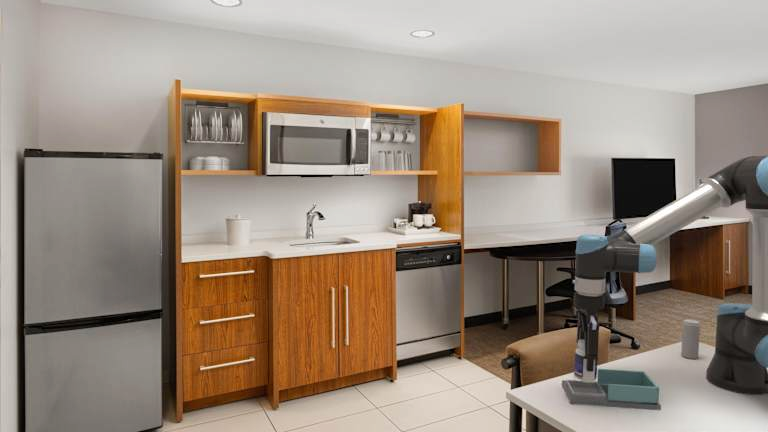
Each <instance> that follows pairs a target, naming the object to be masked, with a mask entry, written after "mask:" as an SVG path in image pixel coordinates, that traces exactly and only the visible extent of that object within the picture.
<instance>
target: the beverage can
mask: <svg viewBox="0 0 768 432" xmlns="http://www.w3.org/2000/svg"><path fill="white" fill-rule="evenodd" d="M700 323H701V322H700V321H698V320H696V319H690V318H689V319H687V318H686V319H683V322H682V331H681V356H682V357H683V358H685V359H688V360H697V359H698V358H699V351H700V333H701V324H700Z"/></svg>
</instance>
